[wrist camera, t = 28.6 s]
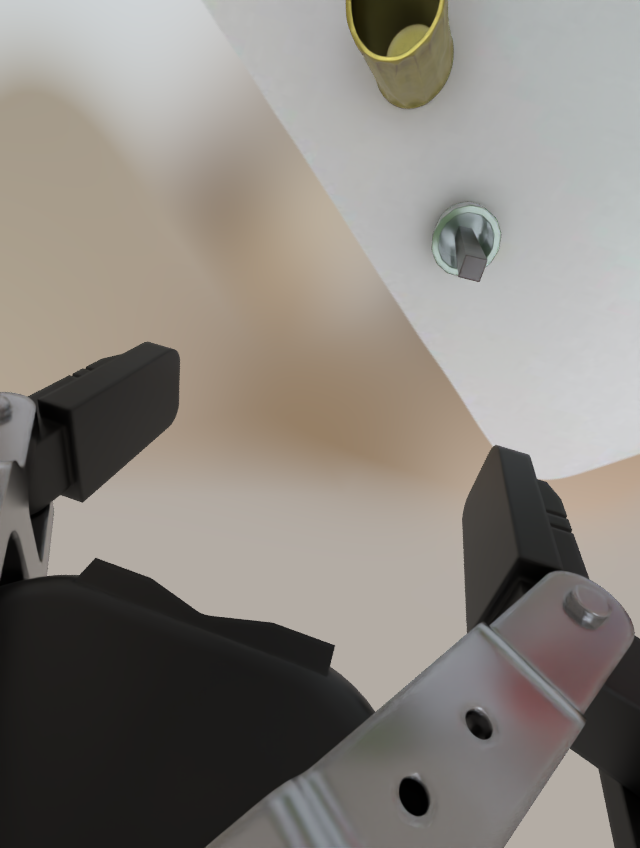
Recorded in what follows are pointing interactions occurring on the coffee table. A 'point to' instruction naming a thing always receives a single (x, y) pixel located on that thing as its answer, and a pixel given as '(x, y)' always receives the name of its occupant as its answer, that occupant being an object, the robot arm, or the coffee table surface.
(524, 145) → the coffee table surface
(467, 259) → the stirring stick
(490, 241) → the holder
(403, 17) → the vase
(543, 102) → the coffee table surface
